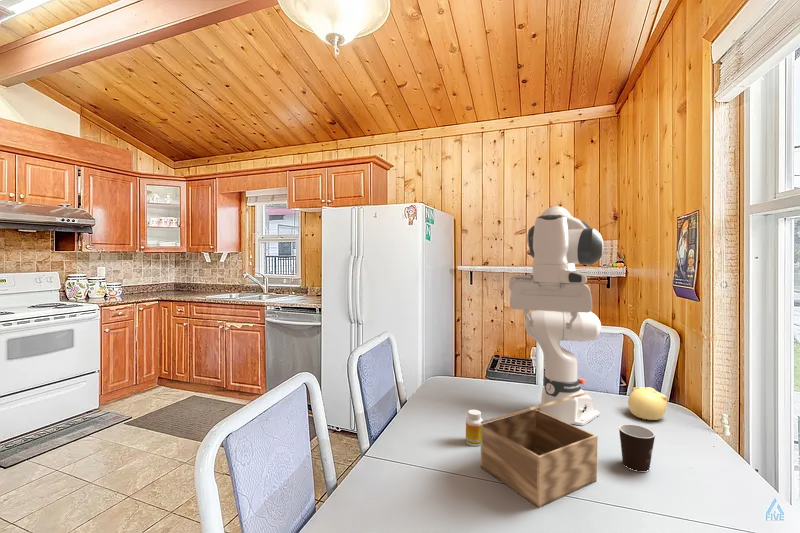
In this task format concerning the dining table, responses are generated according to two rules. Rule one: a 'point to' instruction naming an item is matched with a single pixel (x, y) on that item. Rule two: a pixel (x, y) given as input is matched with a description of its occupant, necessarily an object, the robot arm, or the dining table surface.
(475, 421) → the supplement bottle
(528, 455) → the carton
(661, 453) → the dining table surface
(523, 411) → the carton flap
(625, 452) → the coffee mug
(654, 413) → the sculpture
